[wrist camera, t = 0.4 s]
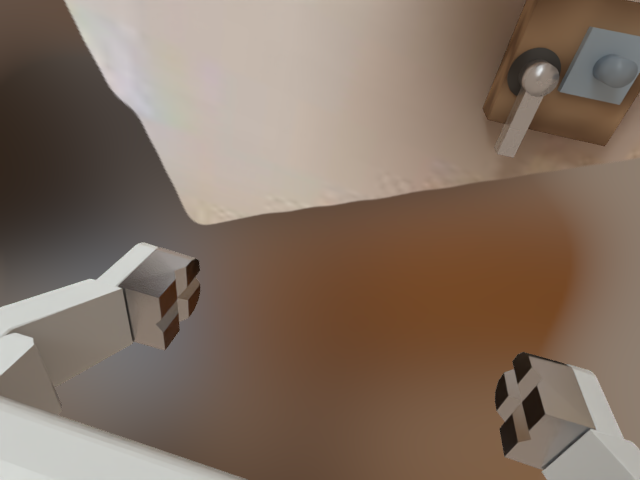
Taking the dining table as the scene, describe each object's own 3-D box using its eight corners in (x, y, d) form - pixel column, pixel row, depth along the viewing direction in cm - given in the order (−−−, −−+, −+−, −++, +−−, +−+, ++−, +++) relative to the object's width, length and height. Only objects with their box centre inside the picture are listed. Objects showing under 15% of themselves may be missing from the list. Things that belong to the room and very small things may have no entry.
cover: (589, 26, 37) (607, 30, 33) (654, 39, 36) (679, 45, 32) (557, 89, 40) (570, 100, 37) (615, 102, 40) (635, 114, 36)
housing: (532, -15, 40) (545, -16, 36) (661, 9, 39) (690, 12, 34) (482, 108, 47) (488, 120, 43) (589, 132, 46) (605, 146, 42)
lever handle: (526, 56, 39) (533, 61, 36) (556, 62, 38) (565, 67, 36) (488, 144, 44) (491, 153, 42) (514, 150, 44) (519, 159, 41)
